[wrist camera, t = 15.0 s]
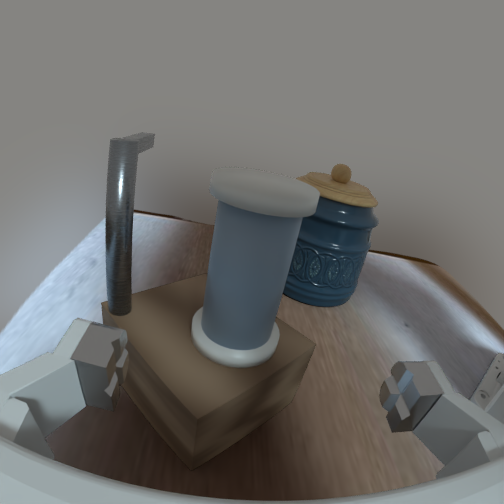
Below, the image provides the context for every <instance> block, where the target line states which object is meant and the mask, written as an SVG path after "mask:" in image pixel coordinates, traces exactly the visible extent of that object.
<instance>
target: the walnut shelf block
mask: <svg viewBox="0 0 504 504" xmlns="http://www.w3.org/2000/svg"><path fill="white" fill-rule="evenodd" d="M207 274H208V273H205V274H201V275H198V276H194V277H191V278H187V279H184V280H180V281H177V282H173V283H170V284H166V285H163V286H159V287H155V288H152V289H148V290H145V291H141V292H138V293H134V294H131V295H132V310H131V312H130V313H129V314H127V315H125V316H115V315H113V314H111V313H110V312H109V310H108V301H105V302H102V303H101V305H102V316H103V324H104V325H108V326H112V327H116V328H120V329H124V330H126V332H127V343H126V346H125V349H126V350H127V351H128V357H129V361H128V370H127V375H126V378H125V381H124V383H123V384H121V385H122V387H123V388H124V389H125V391H126V392H127V394H128V395H129V396H130V398H131V399H132V400H133V402H134V403H135V404H136V406H137V407H138V408H139V410H140V411H141V412H142V414H143V415H144V416H145V418H146V419H147V420H148V421H149V423H150V424H151V425H152V426H153V428H154V429H155V430H156V431H157V432H158V434H159V435H160V436H161V437H162V438H163V440H164V441H165V442H166V443H167V444H168V445H169V447H170V448H171V449H172V450H173V451H174V452H175V453H176V455H177V456H178V457H179V458H180V459H181V460H182V461H183V462H184V463H185V465H186V466H187V467H188V468H189V469H190V470H191V471H192V470H194V469H195V468H197V467H199V466H200V465H202V464H204V463H205V462H207V461H208V460H210V459H212V458H213V457H215V456H216V455H218V454H219V453H221V452H223V451H224V450H226V449H227V448H229V447H230V446H232V445H233V444H235V443H236V442H238V441H239V440H241V439H242V438H243V437H245V436H246V435H248V434H249V433H251V432H252V431H254V430H255V429H256V428H258V427H259V426H261V425H262V424H263V423H265V422H266V421H267V420H269V419H270V418H271V417H273V416H274V415H275V414H277V413H278V412H279V411H281V410H282V409H283V408H285V407H286V406H287V405H289V404H290V403H291V402H292V400H293V398H294V396H295V393H296V391H297V389H298V387H299V384H300V382H301V380H302V377H303V375H304V373H305V370H306V368H307V366H308V363H309V361H310V358H311V356H312V353H313V351H314V349H315V346H316V343H314V342H313V341H311V340H310V339H308V338H307V337H305V336H304V335H302V334H301V333H299V332H298V331H296V330H295V329H293V328H292V327H290V326H289V325H288V324H286V323H285V322H283V321H282V320H280V319H279V318H277V317H276V319H275V322H276V324H277V326H278V328H279V333H280V336H279V340H278V344H277V347H276V350H275V352H274V354H273V356H272V357H271V358H270V359H269V360H267V361H266V362H264V363H262V364H260V365H257V366H254V367H248V368H234V367H228V366H224V365H220V364H218V363H215V362H213V361H211V360H209V359H208V358H206V357H205V356H203V355H202V354H201V353H200V352H199V351H198V350H197V349H196V347H195V346H194V344H193V342H192V339H191V329H192V320H193V317H194V315H195V313H196V312H197V311H198V310H199V309H200V308H201V307H203V304H204V296H205V289H206V281H207Z"/></svg>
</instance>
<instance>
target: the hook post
mask: <svg viewBox="0 0 504 504" xmlns="http://www.w3.org/2000/svg"><path fill="white" fill-rule="evenodd" d="M154 136H155V134H152V133H139V134H135V135H131V136H128V137H124V138H113V139H111V140H110V150H109V161H108V175H107V194H106V280H107V298H108V310H109V312H110V313H111V314H113V315H115V316H125V315H127V314H129V313H130V312H131V310H132V295H131V267H132V230H133V210H134V195H135V182H136V171H137V161H138V154H139V153H141V152H143V151H145V150H147V149H150V148H152V147H153V143H154Z"/></svg>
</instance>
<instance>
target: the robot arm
mask: <svg viewBox="0 0 504 504" xmlns="http://www.w3.org/2000/svg"><path fill="white" fill-rule="evenodd" d="M126 343H127V332H126V330H124V329H120V328H116V327H112V326H108V325H104V324H100V323H96V322H91V321H87V320H84V319H80V318H77V319H75V320H74V321H73V322H72V324H71V325H70V327H69V328H68V330H67V331H66V333H65V335H64V336H63V338H62V339H61V341H60V342H59V344H58V345H57V347H56V349H55V350H54V352H53V353H49V352H48V353H45V354H43V355H41V356H39V357H37V358H35V359H33V360H31V361H29V362H27V363H24V364H22V365H20V366H18V367H16V368H14V369H12V370H10V371H8V372H6V373H3V374H1V375H0V504H504V354H502V353H498V354H497V355H496V357H495V358H494V360H493V361H492V363H491V365H490V367H489V368H488V370H487V372H486V374H485V375H484V377H483V379H482V381H481V382H480V384H479V385H478V387H477V389H476V390H475V392H474V394H473V395H472V397H471V398H470V400H468V399H467V398H465V397H464V396H463V395H461V394H460V393H456V392H455V391H454V389H453V387H452V386H451V384H450V382H449V381H448V379H447V377H446V376H445V374H444V372H443V371H442V369H441V367H440V366H439V364H438V363H437V362H435V361H398V362H397V363H396V364H394V366H393V367H392V369H391V374H392V375H391V376H390V377H388V378H387V379H385V381H384V382H383V384H382V386H381V389H380V395H379V396H380V402H381V405H382V407H383V408H384V409H385V410H387V411H388V414H387V416H386V418H387V421H388V423H389V426H390V429H391V431H392V433H394V432H406V431H413V433H414V434H415V435H416V436H417V437H418V438H419V439H420V440H421V442H422V443H423V444H424V445H425V446H426V447H427V448H428V449H429V450H430V451H431V452H432V453H433V454H434V455H435V456H436V457H437V458H438V459H439V460H440V461H441V462H442V463H443V464H444V465H445V466H444V467H443V468H442V469H441V470H440V471H439V472H438V473H437V475H436V478H437V479H436V480H432V481H428V482H424V483H420V484H416V485H412V486H408V487H403V488H398V489H393V490H388V491H383V492H377V493H371V494H364V495H357V496H349V497H340V498H330V499H317V500H297V501H254V500H234V499H221V498H211V497H202V496H194V495H186V494H180V493H173V492H168V491H162V490H157V489H152V488H147V487H142V486H138V485H133V484H129V483H125V482H121V481H117V480H113V479H110V478H106V477H103V476H99V475H96V474H93V473H90V472H86V471H83V470H80V469H77V468H74V467H72V466H69V465H66V464H63V463H60V462H58V461H55V460H54V457H55V456H54V454H53V452H52V450H51V448H50V447H49V445H48V443H47V441H46V440H45V437H47V436H48V435H49V434H51V433H52V432H53V431H54V430H56V429H57V428H58V427H60V426H61V425H62V424H64V423H65V422H66V421H68V420H69V419H70V418H71V417H73V416H74V415H75V414H77V413H78V412H79V411H80V410H82V409H83V408H84V407H86V405H90V406H93V407H97V408H101V409H105V410H110V411H114V410H115V407H116V404H117V401H118V398H119V395H120V391H119V385H121V384H123V383H124V381H125V378H126V375H127V370H128V361H129V357H128V351H127V350H126V349H125V346H126Z"/></svg>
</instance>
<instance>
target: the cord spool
mask: <svg viewBox="0 0 504 504" xmlns="http://www.w3.org/2000/svg"><path fill="white" fill-rule="evenodd" d="M209 191H210V193H211V194H212V195H213V196H214V197H215V198H217V199H218V200H219V201H218V207H217V214H216V220H215V226H214V233H213V239H212V246H211V253H210V260H209V267H208V274H207V281H206V289H205V296H204V304H203V307H201V308H200V309H199V310H198V311H197V312H196V313H195V315H194V317H193V320H192V329H191V339H192V342H193V344H194V346H195V347H196V349H197V350H198V351H199V352H200V353H201V354H202V355H203V356H205V357H206V358H208V359H209V360H211V361H213V362H215V363H218V364H220V365H224V366H228V367H234V368H248V367H254V366H257V365H260V364H262V363H264V362H266V361H267V360H269V359H270V358H271V357H272V356H273V354H274V352H275V350H276V347H277V344H278V340H279V336H280V333H279V328H278V326H277V324H276V322H275V319H276V315H277V312H278V308H279V305H280V301H281V297H282V294H283V290H284V287H285V283H286V279H287V276H288V272H289V268H290V265H291V261H292V257H293V253H294V249H295V246H296V242H297V238H298V234H299V230H300V226H301V222H302V218H303V217H307V216H311V215H313V214H314V213H315V212H316V208H317V204H318V200H319V196H320V192H319V191H318V190H317V189H316V188H314V187H313V186H311V185H309V184H307V183H305V182H302V181H300V180H297V179H294V178H291V177H288V176H284V175H281V174H277V173H273V172H268V171H263V170H257V169H249V168H239V167H224V168H218V169H215V170H213V171H212V176H211V182H210V189H209Z"/></svg>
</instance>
